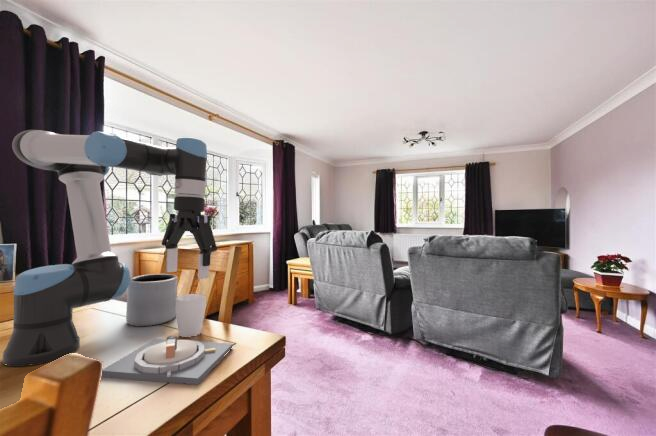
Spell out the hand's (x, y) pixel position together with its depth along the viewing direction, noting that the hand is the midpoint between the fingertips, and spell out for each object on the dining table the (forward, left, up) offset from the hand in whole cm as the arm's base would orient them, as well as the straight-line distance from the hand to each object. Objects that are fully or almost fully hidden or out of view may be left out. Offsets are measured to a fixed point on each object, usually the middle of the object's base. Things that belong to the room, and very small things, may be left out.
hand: (186, 275), depth 81 cm
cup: (-8, +16, -23) cm, 29 cm away
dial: (-2, -3, -21) cm, 21 cm away
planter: (-28, +26, -23) cm, 45 cm away
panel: (-2, -2, -22) cm, 23 cm away
